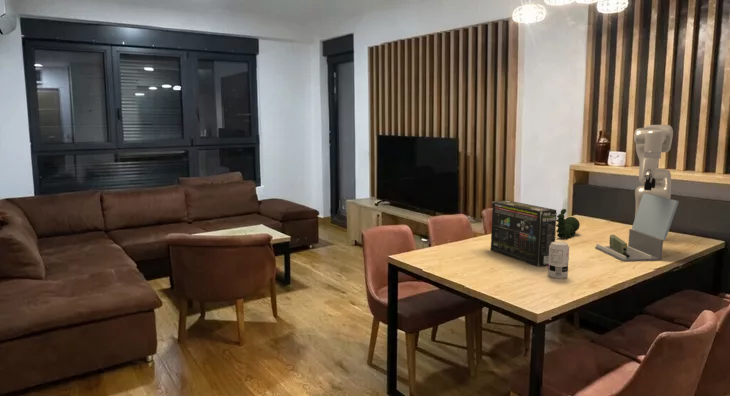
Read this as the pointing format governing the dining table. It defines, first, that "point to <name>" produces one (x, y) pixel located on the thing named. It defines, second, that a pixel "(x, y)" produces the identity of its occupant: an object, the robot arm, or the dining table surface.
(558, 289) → the dining table surface
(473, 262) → the dining table surface
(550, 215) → the router box
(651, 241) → the grey sloped stand
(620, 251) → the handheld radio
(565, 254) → the supplement can
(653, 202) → the cover
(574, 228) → the toy figurine
